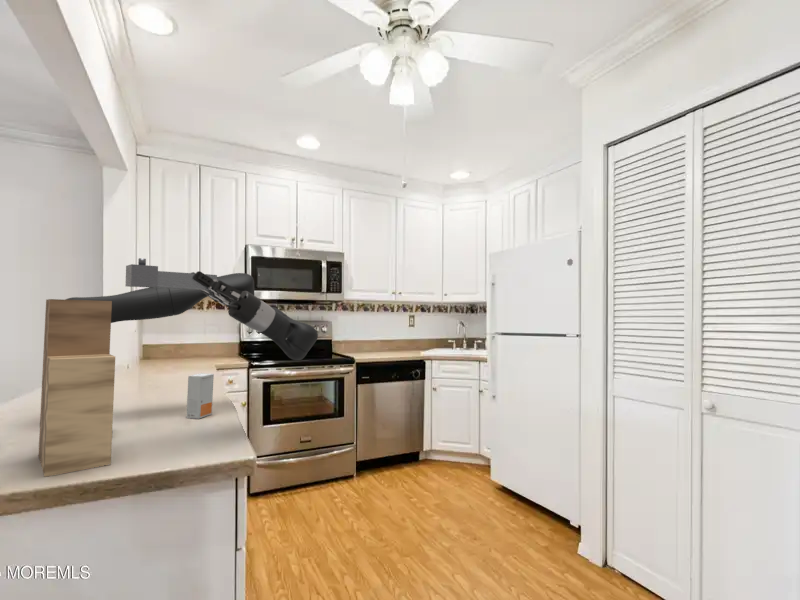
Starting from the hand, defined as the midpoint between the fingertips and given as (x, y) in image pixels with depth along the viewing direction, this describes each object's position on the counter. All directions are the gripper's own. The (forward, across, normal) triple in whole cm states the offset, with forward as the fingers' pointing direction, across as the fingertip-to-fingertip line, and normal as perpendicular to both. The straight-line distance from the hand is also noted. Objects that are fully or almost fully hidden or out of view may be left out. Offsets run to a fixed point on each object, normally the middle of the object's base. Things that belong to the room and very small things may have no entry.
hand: (192, 275), depth 101 cm
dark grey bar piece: (+2, 0, +5) cm, 5 cm away
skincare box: (-29, -23, +29) cm, 46 cm away
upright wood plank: (-1, -1, +44) cm, 44 cm away
